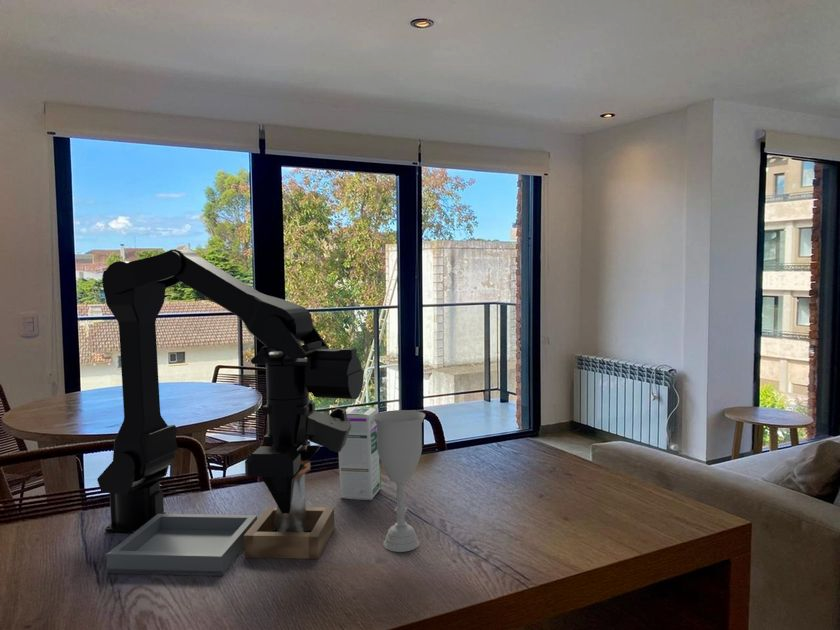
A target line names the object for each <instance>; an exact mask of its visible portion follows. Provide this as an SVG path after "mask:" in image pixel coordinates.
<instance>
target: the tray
mask: <svg viewBox="0 0 840 630" xmlns="http://www.w3.org/2000/svg"><path fill="white" fill-rule="evenodd" d="M257 519H258V515H257V514H210V513H209V514H206V513H205V514H204V513H199V514H198V513H196V514H195V513H193V514H192V513H166V514H157V515H156V516H154V517H153V518H152V519H151V520H149V521H148V522H147V523H145V524H144V525H143V526H142V527H140V528H139V529H138V530H137V531H135V532H132V533H131V534H130V535H129V536H128V537H126V538H125V539H124V540H122V542H120V543H119V544H117V545H116V546H115V547H113V548H112V549H111V550H110V551H109V552H107V553H105V554H106V573H107V574H120V575H121V574H125V575H132V574H133V575H164V576H165V575H169V576H171V575H175V576H179V575H180V576H212V577H213V576H214V577H215V576H216V577H218V576H219V577H222V576H224V574H225V573H226V572H227V570H229V568H230V567H231V565H233V563H234V562H235V561H236V559H237V558H238V557H239V556H240V554H241V553H242V552H244V535H245V533H246V532H247V531H248V530H249V529H250V527H251V526H252V525H253V524H254V523H255V522H256V520H257Z"/></svg>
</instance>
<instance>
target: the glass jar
mask: <svg viewBox="0 0 840 630" xmlns="http://www.w3.org/2000/svg"><path fill="white" fill-rule="evenodd" d="M300 464H305V466H304V467H303V469H302V470H301V471H300V472H299V473H298V474H297V475H296V476H295V479H294V487H293V495H292V503H291V509H290V512H289V513H282V512H281V511H280V509H279V507H278V505H277V503H276V502H275V503H276V506H275V507H277V530H276V532H307V530H306V507H307V506H306V505H307V503H306V501H307V500H306V473H308V472H310V471H311V460H309V461H308V460H306V459H301V462H300Z"/></svg>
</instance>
